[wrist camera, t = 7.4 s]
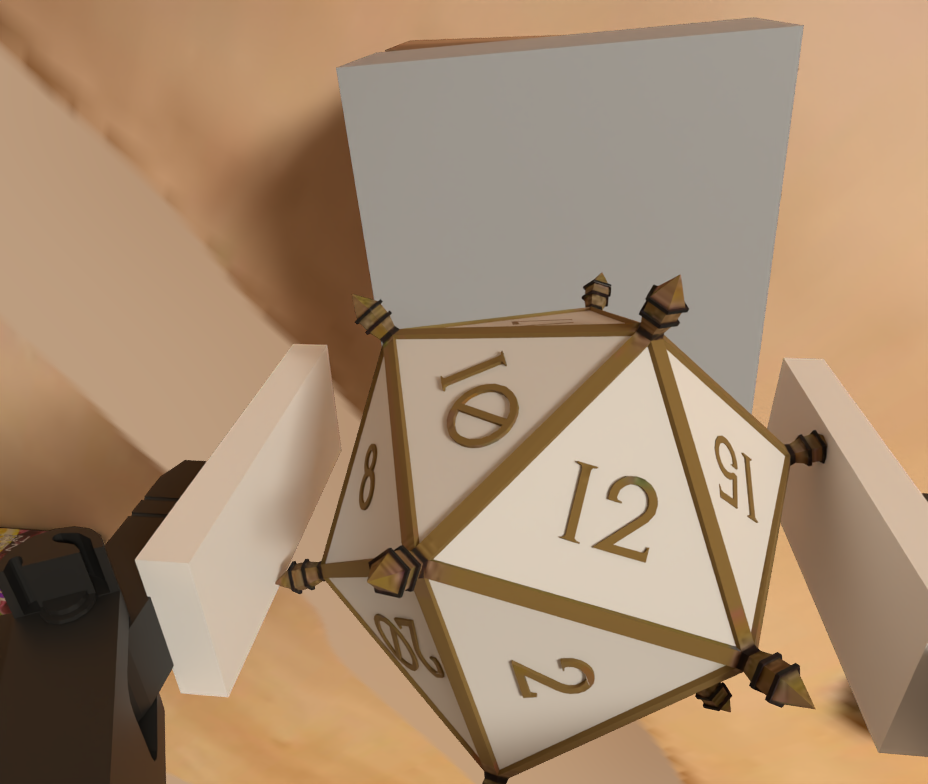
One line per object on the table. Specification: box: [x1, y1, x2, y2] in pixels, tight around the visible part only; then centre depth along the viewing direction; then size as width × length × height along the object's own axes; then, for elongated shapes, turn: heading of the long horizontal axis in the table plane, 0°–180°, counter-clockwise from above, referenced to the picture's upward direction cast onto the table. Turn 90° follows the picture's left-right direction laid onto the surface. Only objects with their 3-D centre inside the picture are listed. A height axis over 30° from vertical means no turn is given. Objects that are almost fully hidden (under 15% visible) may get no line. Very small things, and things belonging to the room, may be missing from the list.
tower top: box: [336, 18, 804, 415], centre depth 23 cm, size 12×12×5 cm
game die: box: [275, 272, 827, 784], centre depth 12 cm, size 9×8×10 cm
